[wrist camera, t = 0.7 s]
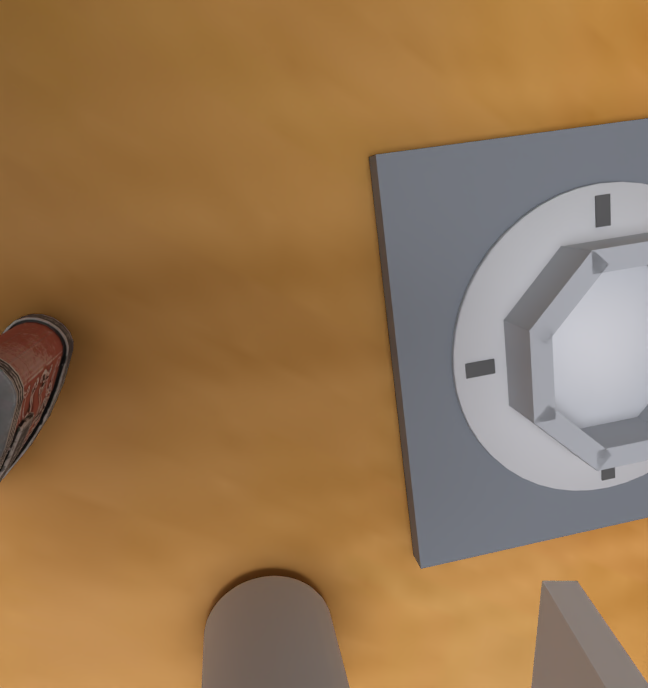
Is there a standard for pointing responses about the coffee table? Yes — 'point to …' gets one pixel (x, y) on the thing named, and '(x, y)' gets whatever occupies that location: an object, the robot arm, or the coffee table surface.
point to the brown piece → (29, 381)
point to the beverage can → (271, 638)
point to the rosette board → (518, 334)
